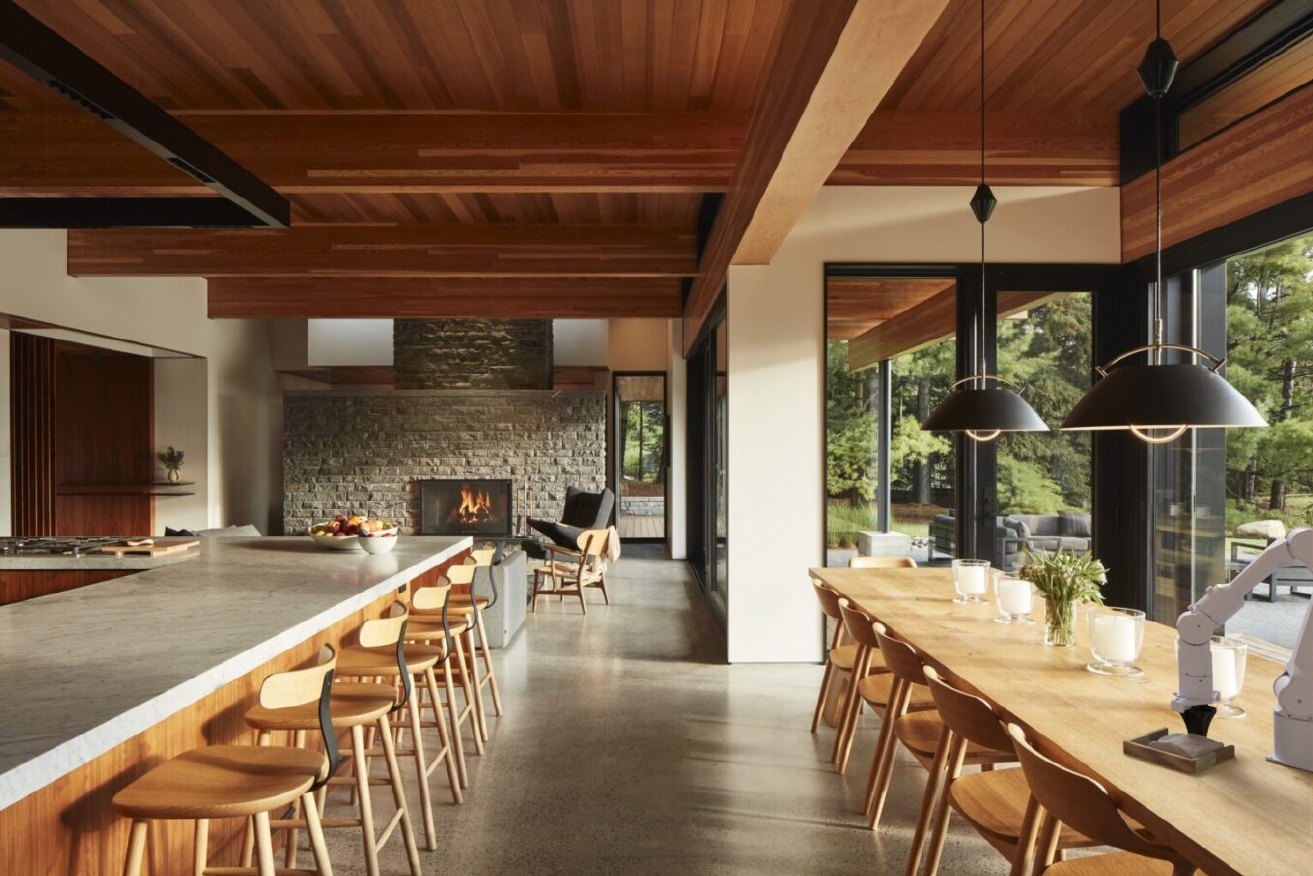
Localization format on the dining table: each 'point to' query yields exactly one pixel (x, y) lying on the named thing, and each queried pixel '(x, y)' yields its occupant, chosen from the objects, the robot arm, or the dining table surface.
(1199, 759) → the guide slot
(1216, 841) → the dining table surface
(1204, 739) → the stone block
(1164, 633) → the dining table surface
